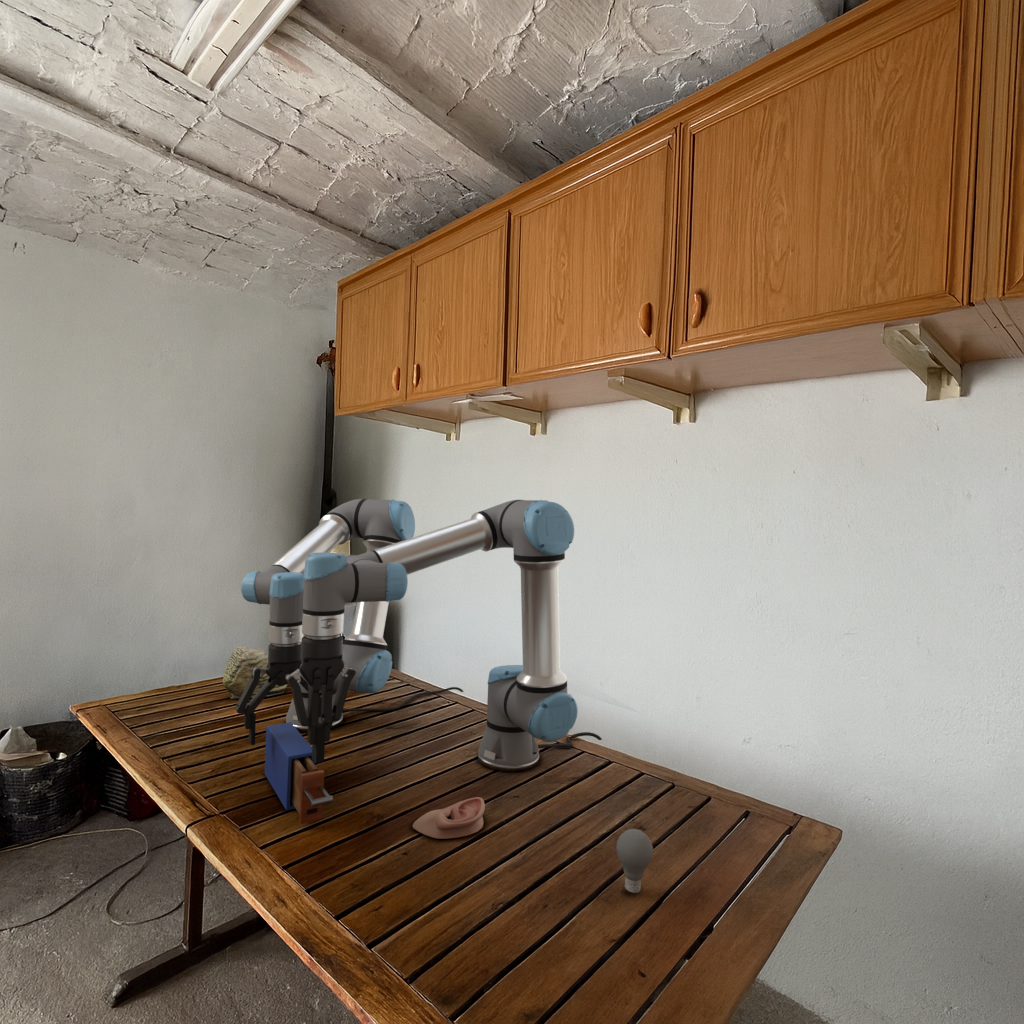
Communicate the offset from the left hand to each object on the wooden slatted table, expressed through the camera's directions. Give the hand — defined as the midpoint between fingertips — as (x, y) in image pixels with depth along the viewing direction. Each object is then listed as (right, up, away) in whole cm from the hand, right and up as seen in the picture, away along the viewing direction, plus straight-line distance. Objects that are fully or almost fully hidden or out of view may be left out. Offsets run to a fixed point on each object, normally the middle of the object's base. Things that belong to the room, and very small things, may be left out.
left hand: (284, 737), depth 141 cm
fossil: (-30, -7, +57) cm, 64 cm away
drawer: (+9, -9, -14) cm, 19 cm away
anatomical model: (+39, -11, -17) cm, 44 cm away
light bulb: (+71, -13, -36) cm, 81 cm away
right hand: (+14, +4, -22) cm, 26 cm away
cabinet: (+2, -10, -5) cm, 11 cm away
